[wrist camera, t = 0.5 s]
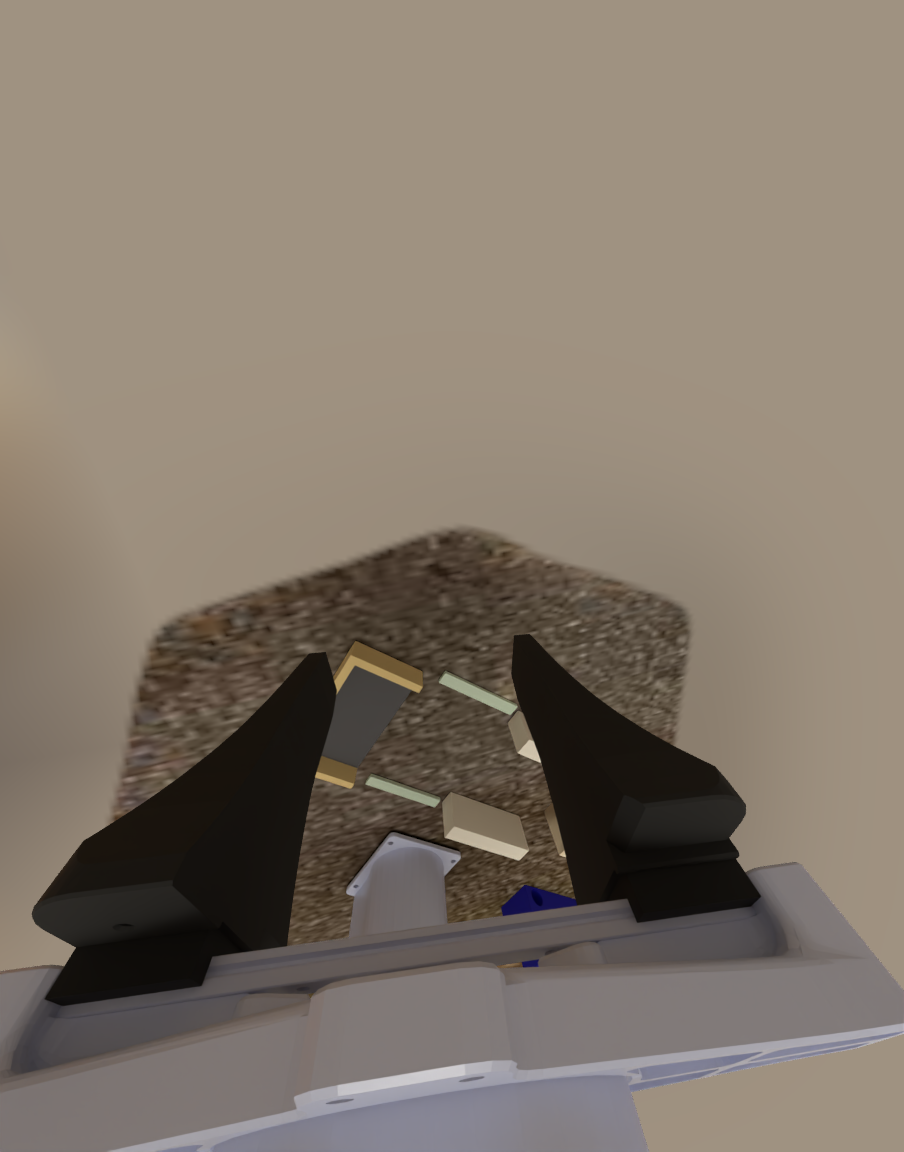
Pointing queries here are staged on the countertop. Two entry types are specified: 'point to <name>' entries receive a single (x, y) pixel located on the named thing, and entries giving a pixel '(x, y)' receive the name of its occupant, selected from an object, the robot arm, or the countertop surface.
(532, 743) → the cream parallel guide rails
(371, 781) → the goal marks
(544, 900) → the blue arch block
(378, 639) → the countertop surface
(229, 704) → the countertop surface
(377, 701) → the open-sided tray
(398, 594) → the countertop surface
